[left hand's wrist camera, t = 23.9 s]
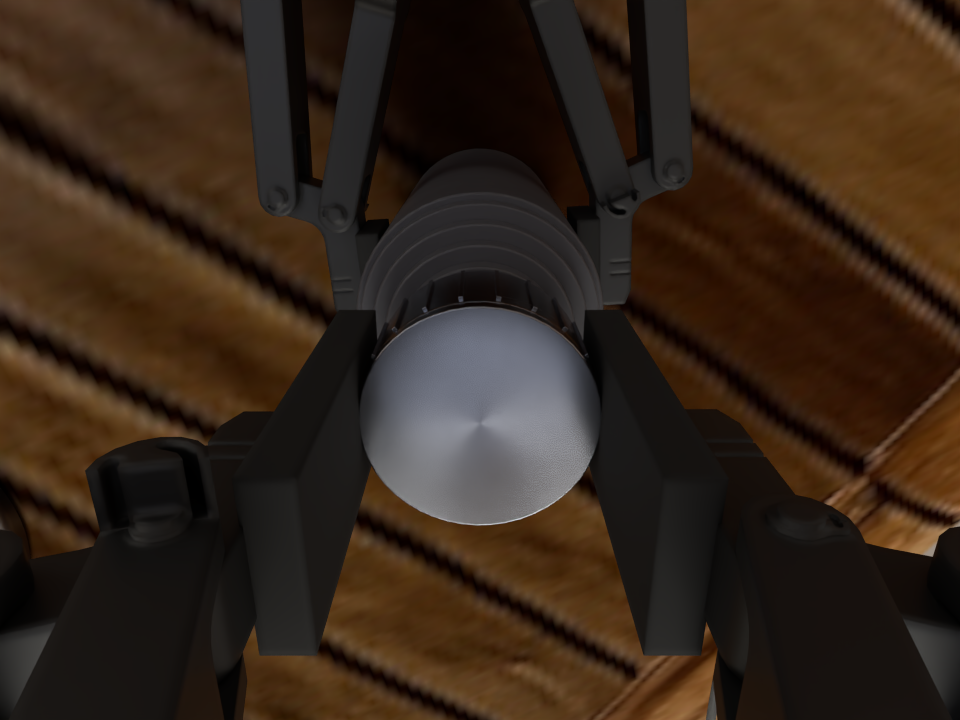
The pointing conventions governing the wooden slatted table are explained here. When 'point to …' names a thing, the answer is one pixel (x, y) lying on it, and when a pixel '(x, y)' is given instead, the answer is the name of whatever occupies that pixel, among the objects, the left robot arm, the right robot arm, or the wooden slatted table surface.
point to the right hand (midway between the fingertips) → (488, 391)
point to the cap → (480, 400)
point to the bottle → (480, 236)
